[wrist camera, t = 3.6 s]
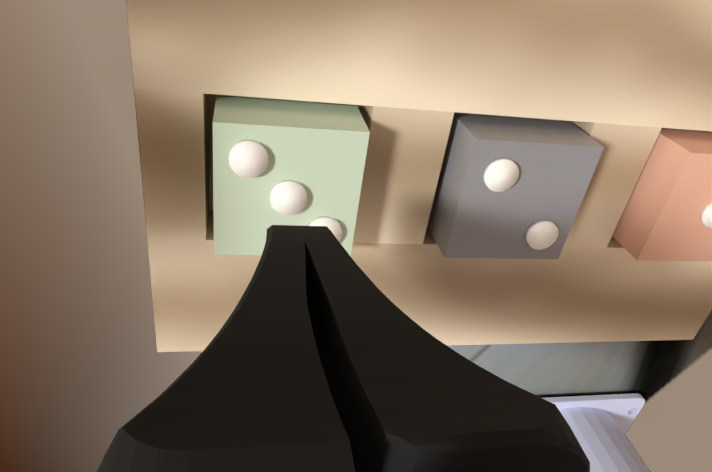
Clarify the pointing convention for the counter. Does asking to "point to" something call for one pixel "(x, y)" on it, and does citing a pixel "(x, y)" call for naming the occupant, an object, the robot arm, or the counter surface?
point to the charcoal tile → (510, 187)
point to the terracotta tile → (671, 201)
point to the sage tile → (284, 169)
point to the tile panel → (428, 149)
